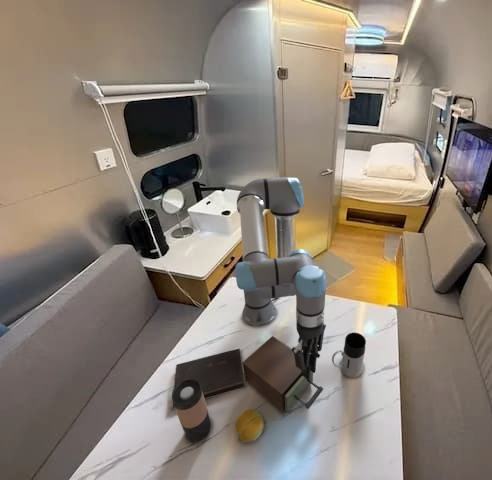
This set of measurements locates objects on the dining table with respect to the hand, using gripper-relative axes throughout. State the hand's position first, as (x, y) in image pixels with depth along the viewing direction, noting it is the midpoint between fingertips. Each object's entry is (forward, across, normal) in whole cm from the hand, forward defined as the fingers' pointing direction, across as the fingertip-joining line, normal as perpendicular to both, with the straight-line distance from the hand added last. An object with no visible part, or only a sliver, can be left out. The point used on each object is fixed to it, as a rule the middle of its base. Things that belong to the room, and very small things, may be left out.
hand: (308, 373), depth 86 cm
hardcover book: (+17, -14, +35) cm, 41 cm away
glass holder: (+17, +19, -4) cm, 26 cm away
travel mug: (+17, -27, +22) cm, 39 cm away
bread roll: (+17, -17, +10) cm, 26 cm away
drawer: (+16, 0, +9) cm, 18 cm away
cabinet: (+16, 0, +14) cm, 22 cm away
